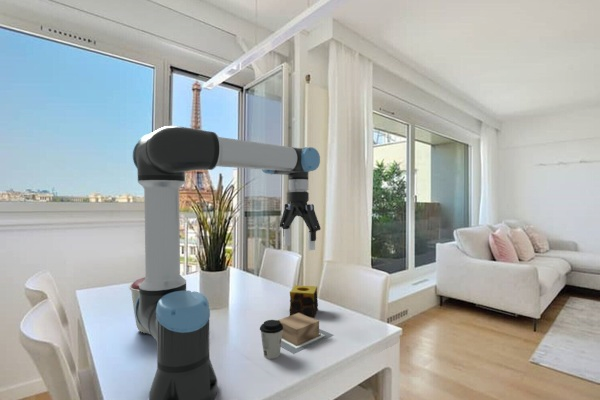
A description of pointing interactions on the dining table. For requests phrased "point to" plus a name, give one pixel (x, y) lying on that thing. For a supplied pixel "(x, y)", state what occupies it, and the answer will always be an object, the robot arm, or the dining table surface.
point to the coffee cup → (271, 338)
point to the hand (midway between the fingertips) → (299, 247)
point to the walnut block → (299, 328)
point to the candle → (304, 300)
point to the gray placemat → (295, 349)
